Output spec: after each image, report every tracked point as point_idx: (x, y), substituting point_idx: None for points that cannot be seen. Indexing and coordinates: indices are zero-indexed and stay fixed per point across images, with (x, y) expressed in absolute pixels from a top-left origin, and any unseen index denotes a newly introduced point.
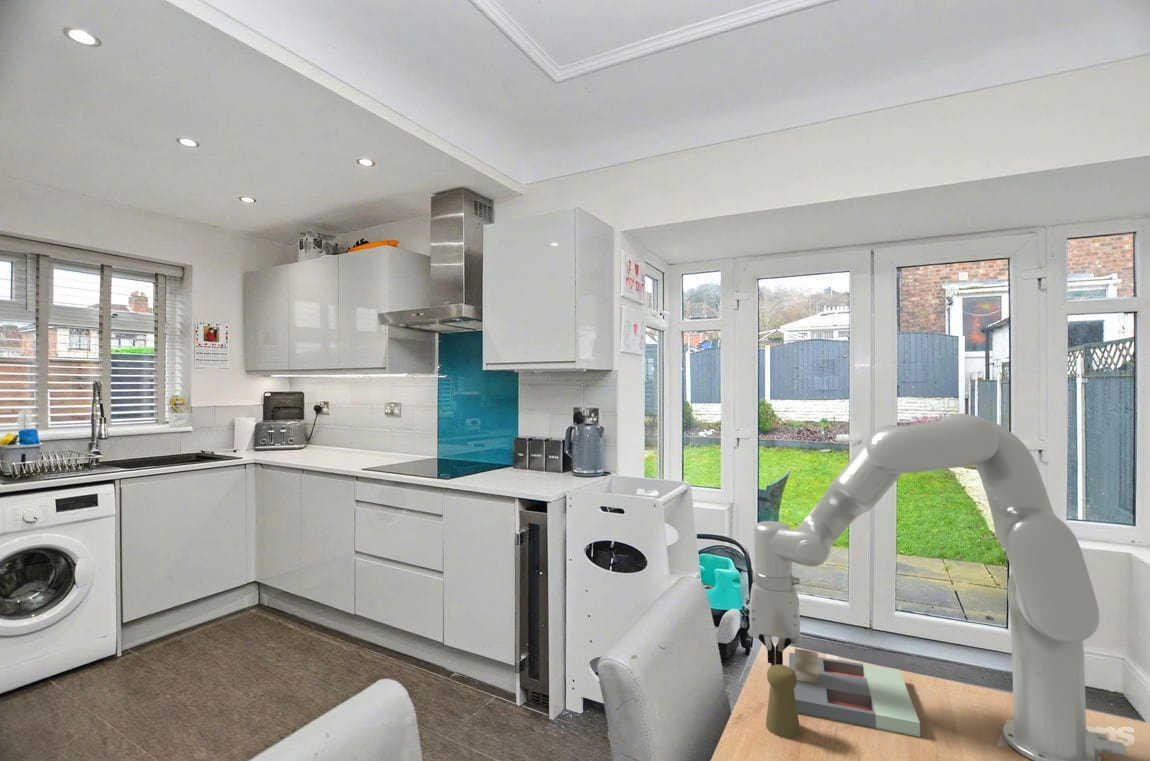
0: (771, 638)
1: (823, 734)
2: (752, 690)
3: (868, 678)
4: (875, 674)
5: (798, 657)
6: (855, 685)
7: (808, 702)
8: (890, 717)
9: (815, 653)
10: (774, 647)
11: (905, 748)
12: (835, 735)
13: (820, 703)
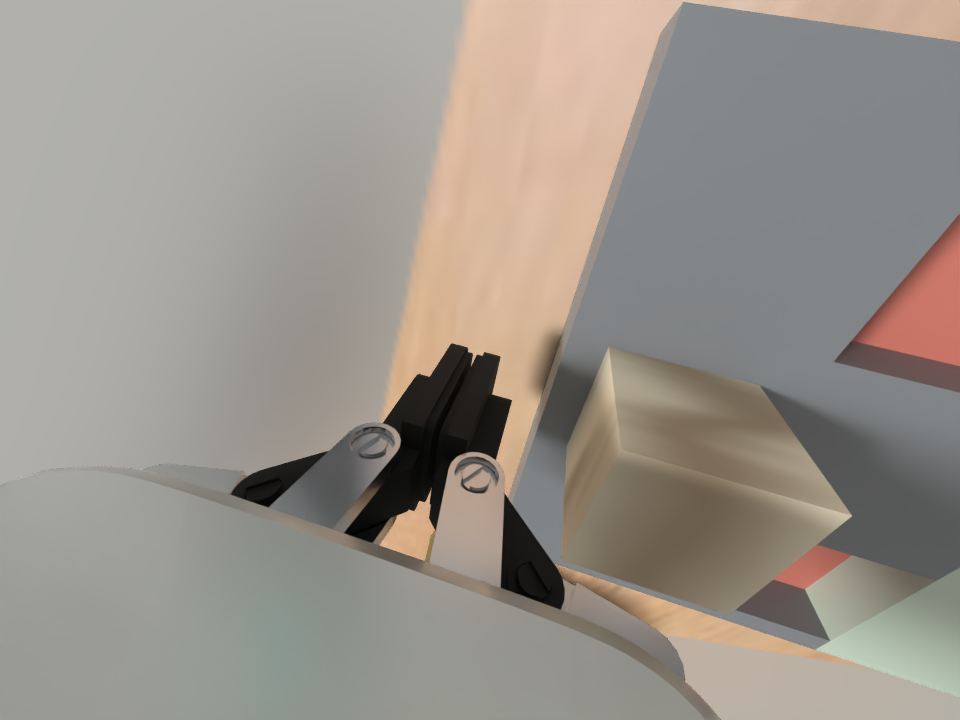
0: (371, 490)
1: (581, 582)
2: (390, 395)
3: None
4: None
5: (590, 560)
6: (939, 506)
7: (568, 565)
8: (871, 667)
9: (798, 532)
10: (427, 455)
11: (812, 651)
12: (615, 590)
13: (613, 578)
